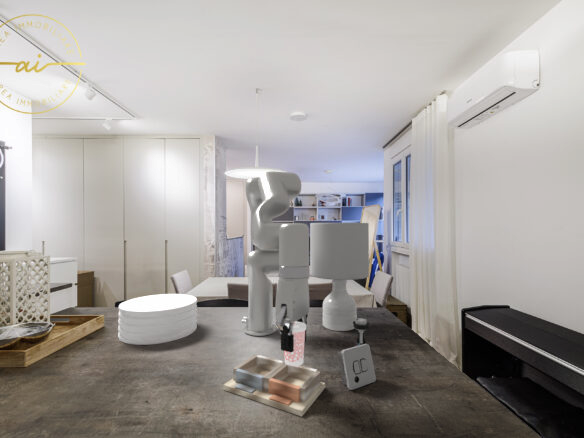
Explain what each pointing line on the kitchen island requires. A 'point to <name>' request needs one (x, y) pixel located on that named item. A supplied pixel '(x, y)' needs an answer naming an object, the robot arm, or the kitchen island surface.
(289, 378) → the socket board
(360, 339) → the push button
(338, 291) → the lamp
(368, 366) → the electrical switch
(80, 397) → the kitchen island surface
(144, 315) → the plate stack
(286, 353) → the beverage cup
